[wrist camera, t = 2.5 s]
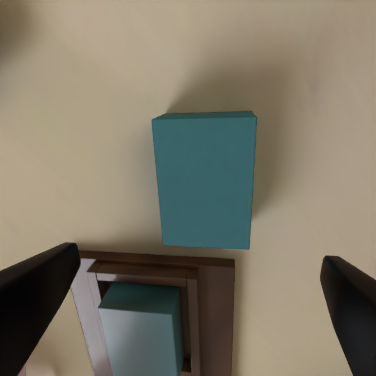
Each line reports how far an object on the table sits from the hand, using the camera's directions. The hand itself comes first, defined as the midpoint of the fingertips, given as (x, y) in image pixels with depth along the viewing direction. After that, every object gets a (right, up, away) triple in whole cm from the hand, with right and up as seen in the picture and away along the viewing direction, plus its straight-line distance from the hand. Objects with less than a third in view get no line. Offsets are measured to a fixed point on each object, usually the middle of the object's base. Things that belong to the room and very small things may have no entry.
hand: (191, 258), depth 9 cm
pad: (+1, +4, +8) cm, 9 cm away
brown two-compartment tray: (-3, -13, +16) cm, 21 cm away
